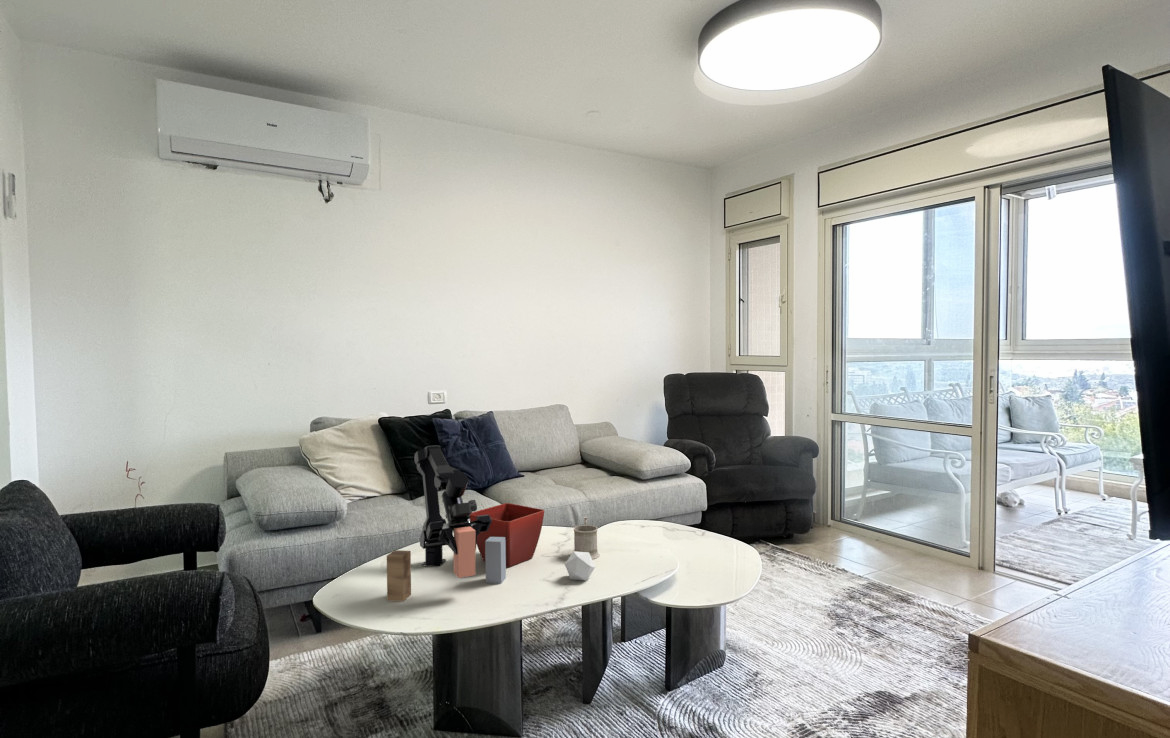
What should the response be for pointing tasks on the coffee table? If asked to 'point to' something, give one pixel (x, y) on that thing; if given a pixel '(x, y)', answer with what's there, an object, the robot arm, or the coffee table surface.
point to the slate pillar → (495, 559)
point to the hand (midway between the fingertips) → (465, 552)
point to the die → (580, 565)
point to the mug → (586, 539)
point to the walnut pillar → (398, 575)
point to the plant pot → (512, 530)
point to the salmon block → (464, 551)
